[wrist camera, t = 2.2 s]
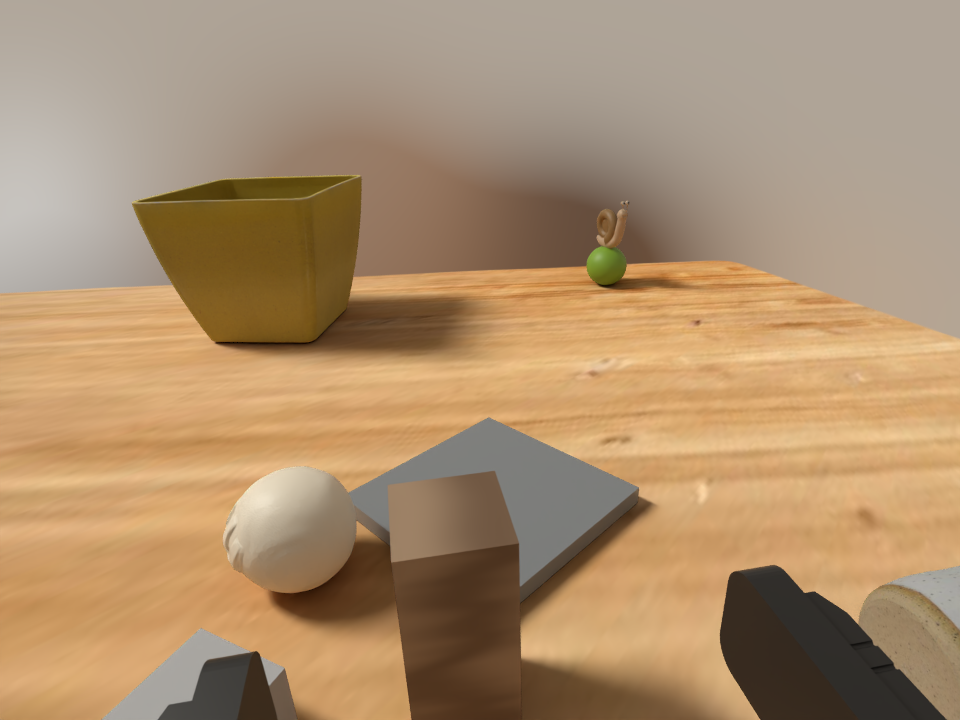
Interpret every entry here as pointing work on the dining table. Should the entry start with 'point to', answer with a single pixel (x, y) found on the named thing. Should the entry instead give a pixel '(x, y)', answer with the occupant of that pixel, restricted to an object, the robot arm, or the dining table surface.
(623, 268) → the snail figurine
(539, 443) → the plate
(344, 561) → the steamed bun
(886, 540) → the dining table surface
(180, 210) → the flower pot
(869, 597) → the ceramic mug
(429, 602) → the walnut block
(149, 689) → the grey block
